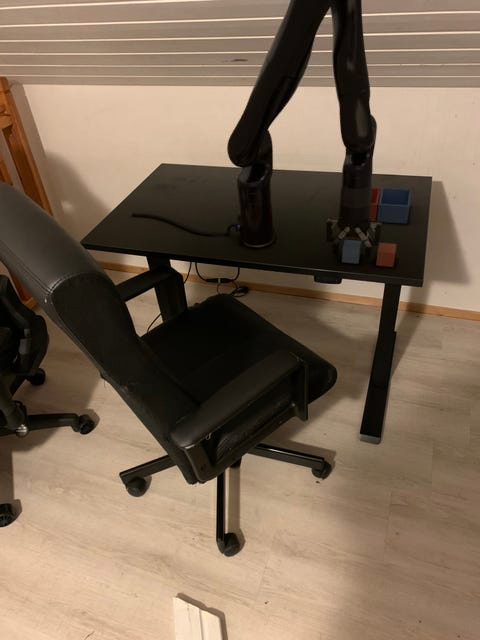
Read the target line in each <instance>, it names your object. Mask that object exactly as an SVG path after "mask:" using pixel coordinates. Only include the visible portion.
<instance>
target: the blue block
mask: <svg viewBox="0 0 480 640" xmlns="http://www.w3.org/2000/svg"><path fill="white" fill-rule="evenodd" d="M362 242H363V241H362V240H352V239H350V240H349V239H344V241H343V246H342V250H341V263H346V264H357V265H359V263H360V258H361V253H362Z"/></svg>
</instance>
